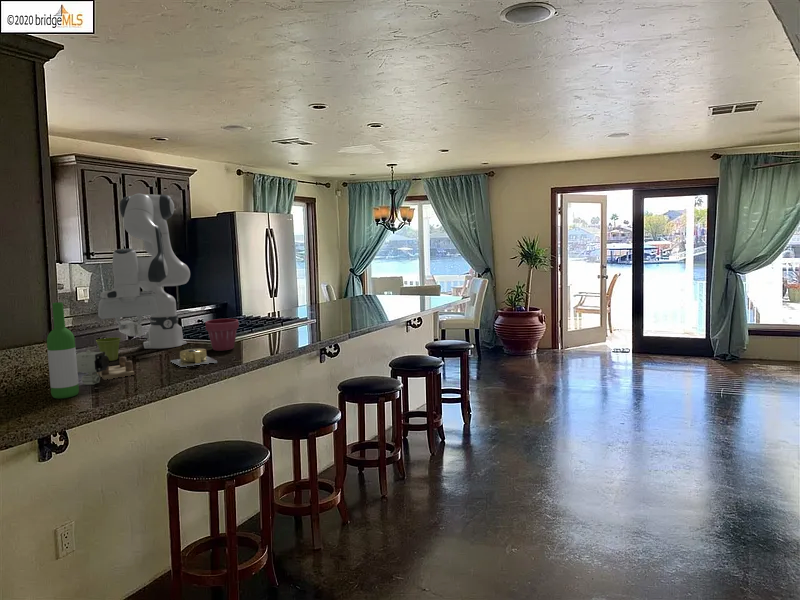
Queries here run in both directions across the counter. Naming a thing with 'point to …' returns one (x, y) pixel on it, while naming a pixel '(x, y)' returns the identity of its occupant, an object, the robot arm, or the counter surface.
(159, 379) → the counter surface
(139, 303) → the robot arm
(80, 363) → the pneumatic valve
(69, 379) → the wine bottle
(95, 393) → the counter surface
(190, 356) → the ring nut
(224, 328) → the plant pot
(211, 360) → the nut base
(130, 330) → the white bar
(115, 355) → the plant pot
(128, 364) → the rack
